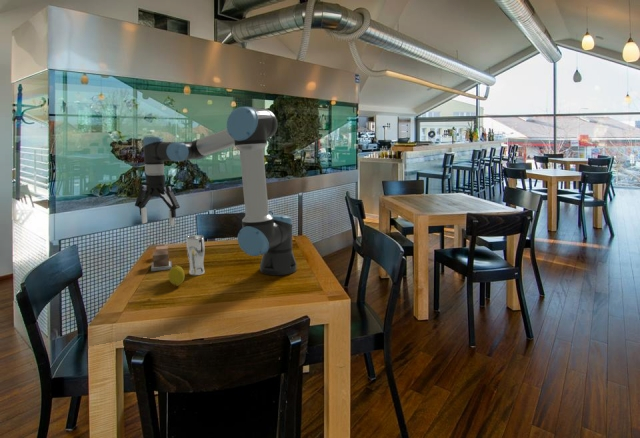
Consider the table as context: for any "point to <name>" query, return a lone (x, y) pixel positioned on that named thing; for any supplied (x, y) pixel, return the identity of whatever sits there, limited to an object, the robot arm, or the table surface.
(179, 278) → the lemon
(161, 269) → the slate picture frame
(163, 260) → the walnut block
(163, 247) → the terracotta cube
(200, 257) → the beer glass
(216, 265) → the table surface
